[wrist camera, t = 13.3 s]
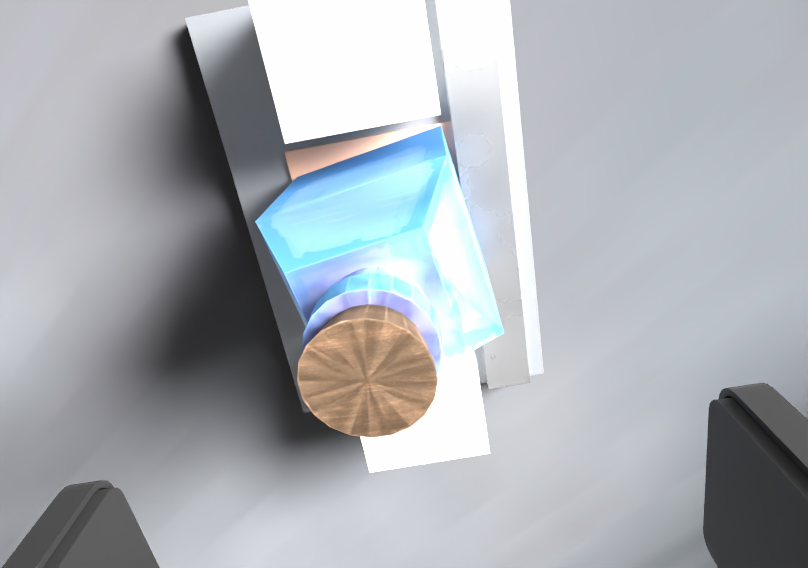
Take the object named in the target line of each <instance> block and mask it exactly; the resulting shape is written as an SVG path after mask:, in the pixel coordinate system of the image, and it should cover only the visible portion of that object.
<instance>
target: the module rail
mask: <svg viewBox="0 0 808 568" xmlns="http://www.w3.org/2000/svg"><path fill="white" fill-rule="evenodd" d="M248 1H249V5H248V6H243V7H238V8H233V9H228V10H223V11H218V12H213V13H208V14H203V15H198V16H193V17H188V18H185V20H186V23H187V27H188V30H189V33H190V37H191V40H192V43H193V47H194V50H195V53H196V57H197V60H198V63H199V67H200V70H201V73H202V77H203V80H204V83H205V87H206V90H207V93H208V97H209V100H210V103H211V107H212V110H213V113H214V117H215V120H216V123H217V126H218V130H219V133H220V136H221V140H222V143H223V146H224V150H225V153H226V156H227V160H228V163H229V166H230V170H231V173H232V176H233V180H234V183H235V186H236V190H237V193H238V196H239V200H240V203H241V206H242V210H243V213H244V216H245V220H246V223H247V226H248V230H249V233H250V236H251V240H252V243H253V246H254V250H255V253H256V256H257V259H258V263H259V266H260V269H261V273H262V276H263V279H264V283H265V286H266V289H267V293H268V296H269V299H270V303H271V306H272V309H273V313H274V316H275V319H276V323H277V326H278V329H279V333H280V336H281V339H282V343H283V346H284V349H285V353H286V356H287V359H288V363H289V366H290V369H291V373H292V376H293V379H294V383H295V386H296V389H297V392H298V396H299V399H300V402H301V406H302V409H303V412H304V413H306V412H312V411H311V410H310V409H309V407H308V406H307V405H306V403H305V402H304V400H303V399H302V395H301V392H300V389H299V386H298V382H297V376H298V362H299V360H300V358H301V356H302V343H303V333H304V331H305V328H306V327H305V325H304V323H303V320H302V318H301V316H300V314H299V312H298V310H297V308H296V306H295V304H294V302H293V299H292V297H291V295H290V293H289V291H288V289H287V287H286V285H285V283H284V281H283V278H282V276H281V274H280V272H279V270H278V268H277V266H276V264H275V262H274V260H273V258H272V255H271V253H270V251H269V249H268V247H267V245H266V243H265V241H264V239H263V237H262V234H261V232H260V230H259V228H258V226H257V224H256V222H255V221H256V220H257V219H258V218H259V217H260V216H261V215H262V214H263V213H264V212H265V211H266V210H267V209H268V208H269V207H270V205H271V204H272V203H273V202H274V201H275V200H276V199H277V198H278V197H279V196H280V195H281V194H282V193H283V192H284V191H285V190H286V188H287V187H288V186H289V185H290V184H291V183H292V182H293V181H294V180H295V179H296V178H297V177H298V176H301V175H304V174H307V173H310V172H312V171H315V170H318V169H321V168H323V167H326V166H329V165H332V164H335V163H337V162H340V161H343V160H346V159H349V158H351V157H354V156H357V155H360V154H363V153H365V152H368V151H371V150H374V149H376V148H379V147H382V146H385V145H388V144H390V143H393V142H396V141H399V140H402V139H404V138H407V137H410V136H413V135H416V134H418V133H421V132H424V131H427V130H429V129H432V128H435V127H438V126H441V127H442V131H443V134H444V137H445V140H446V143H447V146H448V149H449V152H450V156H451V159H452V162H453V165H454V168H455V171H456V174H457V177H458V181H459V184H460V187H461V190H462V193H463V196H464V199H465V203H466V206H467V209H468V212H469V215H470V218H471V221H472V224H473V228H474V231H475V234H476V237H477V240H478V243H479V246H480V249H481V253H482V256H483V259H484V262H485V265H486V269H487V273H488V276H489V280H490V283H491V287H492V291H493V294H494V298H495V301H496V305H497V309H498V312H499V316H500V320H501V323H502V327H503V330H504V333H503V334H501V335H500V336H498V337H496V338H494V339H493V340H491V341H489V342H487V343H485V344H484V345H482V346H480V347H478V348H477V349H475V350H473V351H471V352H469V353H467V354H464V355H460V356H457V357H453V358H450V359H446V360H443V361H441V365H440V370H439V373H438V374H437V378H438V384H437V389H436V395H435V399H434V401H433V403H432V404H431V406H430V408H429V409H428V411H427V412H426V414H425V415H424V416H423V417H422V418H421V419H420V420H418V421H417V422H416V423H415V424H414V425H412V426H411V427H410V428H407V429H405V430H403V431H400V432H398V433H396V434H393V435H389V436H382V437H374V438H368V437H361V441H362V445H363V449H364V452H365V456H366V460H367V464H368V468H369V472H376V471H383V470H389V469H395V468H402V467H408V466H414V465H420V464H427V463H433V462H439V461H445V460H452V459H458V458H464V457H471V456H477V455H483V454H489V453H490V450H489V443H488V436H487V429H486V422H485V415H484V408H483V402H482V395H481V388H480V384H482V383H487V385H488V388H489V389H495V388H501V387H508V386H514V385H520V384H526V383H530V375H536V374H542V373H544V372H543V361H542V350H541V339H540V328H539V317H538V306H537V295H536V284H535V273H534V262H533V251H532V239H531V228H530V217H529V206H528V195H527V184H526V173H525V162H524V151H523V140H522V129H521V118H520V107H519V96H518V85H517V74H516V63H515V52H514V41H513V30H512V19H511V8H510V0H248Z"/></svg>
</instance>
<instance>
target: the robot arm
mask: <svg viewBox="0 0 808 568" xmlns="http://www.w3.org/2000/svg"><path fill="white" fill-rule="evenodd" d="M703 531H704V538H705V542H706V545H707V547H708V550H709V552H710V554H711V556H712V558H713V559H714V561H715V563H716V564H717V566H718V568H808V419H806V418H805V417H804V416H803V415H802V414H801V413H800V412H799V411H798V410H797V409H796V408H794V407H793V406H792V405H791V404H790V403H789V402H788V401H787V400H786V399H785V398H783V397H782V396H781V395H780V394H779V393H778V392H777V391H776V390H775V389H774V388H772V387H771V386H769V385H768V384H765V383H758V384H751V385H744V386H738V387H731V388H725V389H723V390H722V391H721V393H720V395H719V399H718V400H713V401H711V403H710V406H709V419H708V440H707V461H706V482H705V504H704V525H703ZM2 568H159V566H158V564H157V562H156V560H155V557H154V555H153V553H152V551H151V549H150V547H149V545H148V543H147V541H146V539H145V537H144V535H143V533H142V531H141V529H140V527H139V525H138V523H137V521H136V519H135V516H134V514H133V512H132V510H131V508H130V506H129V504H128V502H127V500H126V498H125V496H124V494H123V493H122V491H121V490H120V489H118V488H114V487H113V486H112V484H111V483H109V482H108V481H102V480H101V481H94V482H87V483H81V484H74V485H69V486H67V487H65V488H64V489H63V490H62V491H61V492H60V493H59V494H58V495H57V496H56V498H55V499H54V500H53V502H52V503H51V504H50V505H49V507H48V508H47V509H46V511H45V512H44V513H43V515H42V516H41V517H40V519H39V520H38V521H37V522H36V524H35V525H34V526H33V528H32V529H31V530H30V532H29V533H28V534H27V535H26V537H25V538H24V539H23V541H22V542H21V543H20V545H19V546H18V547H17V548H16V550H15V551H14V552H13V554H12V555H11V556H10V558H9V559H8V560H7V562H6V563H5V564H4V565H3V567H2Z"/></svg>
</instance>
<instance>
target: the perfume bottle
mask: <svg viewBox="0 0 808 568" xmlns="http://www.w3.org/2000/svg"><path fill="white" fill-rule="evenodd" d="M255 222H256V224H257V226H258V228H259V230H260V232H261V234H262V237H263V239H264V241H265V243H266V245H267V247H268V249H269V251H270V253H271V255H272V258H273V260H274V262H275V264H276V266H277V268H278V270H279V272H280V274H281V276H282V278H283V281H284V283H285V285H286V287H287V289H288V291H289V293H290V295H291V297H292V299H293V302H294V304H295V306H296V308H297V310H298V312H299V314H300V316H301V318H302V320H303V323H304V325H305V327H306V328H305V331H304V333H303V343H302V356H301V358H300V360H299V362H298V376H297V382H298V386H299V389H300V392H301V395H302V399H303V400H304V402H305V403H306V405H307V406H308V407H309V409H310V410H311V411H312V413H313V414H314V415H315V416H316V417H317V418H319V419H320V420H321V421H323V422H324V423H325V424H327V425H328V426H329V427H331V428H333V429H336V430H338V431H341V432H343V433H346V434H348V435H352V436H360V437H368V438H374V437H382V436H389V435H393V434H396V433H398V432H400V431H403V430H405V429H407V428H410V427H411V426H412V425H414V424H415V423H416V422H417V421H418V420H420V419H421V418H422V417H423V416H424V415H425V414H426V412H427V411H428V409H429V408H430V406H431V404H432V403H433V401H434V399H435V395H436V389H437V384H438V378H437V374H438V373H439V370H440V365H441V361H443V360H446V359H450V358H453V357H457V356H460V355H464V354H467V353H469V352H471V351H473V350H475V349H477V348H478V347H480V346H482V345H484V344H485V343H487V342H489V341H491V340H493V339H494V338H496V337H498V336H500V335H501V334H503V333H504V330H503V327H502V323H501V320H500V316H499V312H498V309H497V305H496V301H495V298H494V294H493V291H492V287H491V283H490V280H489V276H488V273H487V269H486V265H485V262H484V259H483V256H482V253H481V249H480V246H479V243H478V240H477V237H476V234H475V231H474V228H473V224H472V221H471V218H470V215H469V212H468V209H467V206H466V203H465V199H464V196H463V193H462V190H461V187H460V184H459V181H458V177H457V174H456V171H455V168H454V165H453V162H452V159H451V156H450V152H449V149H448V146H447V143H446V140H445V137H444V134H443V131H442V127H441V126H438V127H435V128H432V129H429V130H427V131H424V132H421V133H418V134H416V135H413V136H410V137H407V138H404V139H402V140H399V141H396V142H393V143H390V144H388V145H385V146H382V147H379V148H376V149H374V150H371V151H368V152H365V153H363V154H360V155H357V156H354V157H351V158H349V159H346V160H343V161H340V162H337V163H335V164H332V165H329V166H326V167H323V168H321V169H318V170H315V171H312V172H310V173H307V174H304V175H301V176H298V177H297V178H296V179H295V180H294V181H293V182H292V183H291V184H290V185H289V186H288V187H287V188H286V190H285V191H284V192H283V193H282V194H281V195H280V196H279V197H278V198H277V199H276V200H275V201H274V202H273V203H272V204H271V205H270V207H269V208H268V209H267V210H266V211H265V212H264V213H263V214H262V215H261V216H260V217H259V218H258V219H257V220H256V221H255Z"/></svg>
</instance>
